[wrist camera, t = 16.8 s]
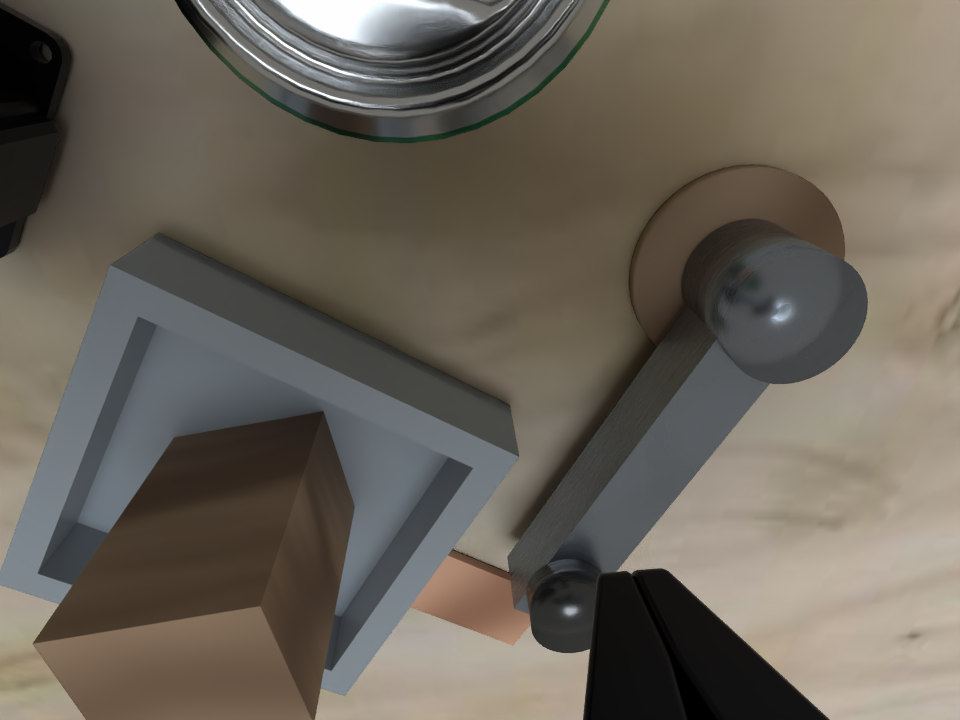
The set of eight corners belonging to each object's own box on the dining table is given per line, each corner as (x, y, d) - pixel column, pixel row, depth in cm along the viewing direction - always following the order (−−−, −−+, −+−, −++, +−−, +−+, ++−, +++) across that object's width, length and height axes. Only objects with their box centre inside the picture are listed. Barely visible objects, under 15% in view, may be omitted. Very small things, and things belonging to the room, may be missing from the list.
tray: (48, 519, 23) (-4, 583, 20) (158, 232, 18) (109, 264, 16) (355, 628, 26) (345, 696, 23) (510, 405, 22) (519, 457, 19)
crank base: (389, 590, 25) (388, 603, 25) (719, 121, 18) (727, 124, 17) (526, 642, 27) (527, 654, 26) (877, 233, 20) (889, 238, 19)
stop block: (173, 437, 21) (32, 643, 14) (323, 411, 21) (259, 606, 13) (217, 530, 23) (111, 756, 15) (355, 506, 22) (313, 723, 15)
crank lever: (730, 196, 18) (804, 235, 14) (824, 253, 19) (916, 303, 15) (490, 544, 23) (499, 637, 20) (572, 575, 24) (595, 670, 21)
